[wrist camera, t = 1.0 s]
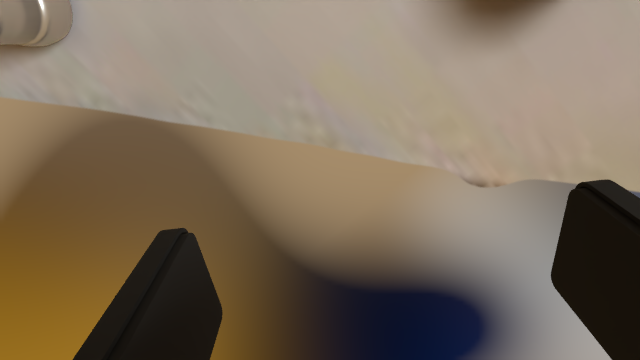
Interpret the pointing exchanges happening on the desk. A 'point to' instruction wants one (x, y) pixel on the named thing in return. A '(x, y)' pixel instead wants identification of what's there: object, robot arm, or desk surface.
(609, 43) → the desk surface
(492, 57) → the desk surface
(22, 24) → the plastic bottle
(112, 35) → the desk surface
